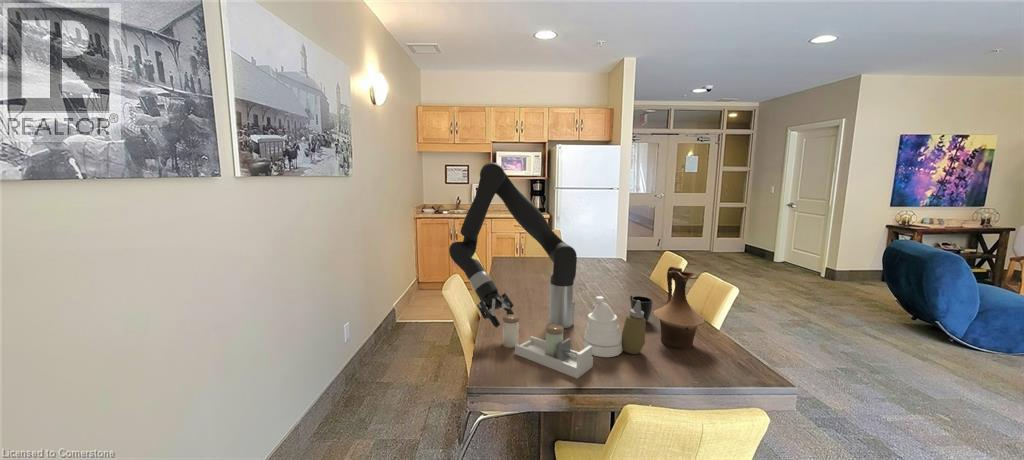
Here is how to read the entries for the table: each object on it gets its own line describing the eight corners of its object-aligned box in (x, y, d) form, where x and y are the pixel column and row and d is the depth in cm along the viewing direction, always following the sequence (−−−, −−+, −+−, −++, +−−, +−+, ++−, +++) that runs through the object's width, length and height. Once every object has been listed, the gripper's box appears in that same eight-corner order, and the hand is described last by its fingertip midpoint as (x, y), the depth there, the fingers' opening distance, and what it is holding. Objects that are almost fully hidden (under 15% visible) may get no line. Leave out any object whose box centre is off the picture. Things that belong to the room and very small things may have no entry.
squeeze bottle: (630, 357, 127) (639, 306, 124) (614, 346, 134) (621, 297, 131) (648, 354, 130) (656, 304, 128) (630, 344, 137) (638, 296, 135)
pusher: (556, 363, 120) (556, 345, 119) (567, 355, 125) (568, 338, 124) (569, 368, 117) (570, 349, 116) (580, 360, 122) (581, 342, 121)
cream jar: (513, 339, 140) (513, 313, 139) (521, 345, 135) (522, 318, 134) (499, 342, 137) (499, 316, 136) (507, 349, 132) (507, 321, 131)
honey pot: (577, 345, 136) (577, 296, 134) (606, 338, 141) (606, 291, 139) (598, 360, 125) (599, 307, 122) (630, 352, 130) (630, 301, 127)
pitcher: (642, 334, 146) (647, 263, 142) (681, 331, 150) (687, 262, 146) (670, 355, 129) (676, 275, 125) (713, 351, 133) (721, 273, 129)
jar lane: (514, 353, 129) (515, 333, 128) (531, 344, 136) (532, 325, 135) (577, 378, 113) (578, 355, 112) (592, 366, 121) (593, 345, 120)
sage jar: (555, 351, 128) (556, 323, 127) (566, 358, 123) (567, 329, 122) (541, 355, 125) (542, 326, 124) (551, 362, 120) (552, 332, 119)
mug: (639, 313, 169) (640, 292, 167) (654, 323, 157) (656, 301, 156) (622, 314, 167) (623, 293, 166) (636, 325, 155) (638, 302, 154)
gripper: (474, 284, 134) (498, 323, 129) (501, 276, 145) (524, 312, 140) (464, 295, 138) (487, 334, 133) (491, 287, 149) (513, 322, 144)
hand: (506, 322), depth 136 cm, fingers open, 8 cm apart
